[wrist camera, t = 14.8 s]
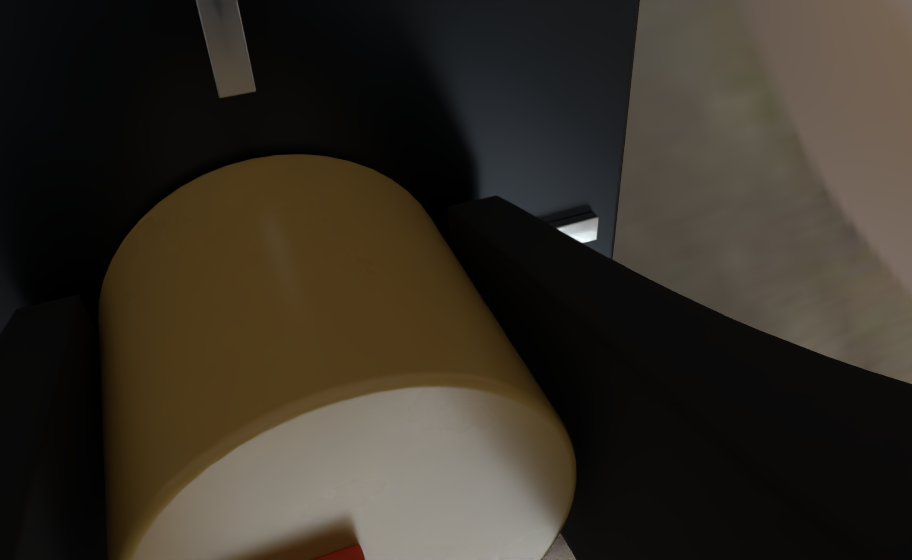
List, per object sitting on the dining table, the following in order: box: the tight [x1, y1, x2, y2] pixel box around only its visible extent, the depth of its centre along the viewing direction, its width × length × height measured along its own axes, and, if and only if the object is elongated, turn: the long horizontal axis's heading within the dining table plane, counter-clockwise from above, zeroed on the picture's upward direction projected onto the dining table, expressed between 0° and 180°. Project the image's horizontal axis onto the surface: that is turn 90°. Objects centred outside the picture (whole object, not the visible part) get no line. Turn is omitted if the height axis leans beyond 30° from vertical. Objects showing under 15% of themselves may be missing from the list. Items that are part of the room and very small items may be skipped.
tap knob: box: [98, 154, 576, 560], centre depth 8 cm, size 4×4×4 cm
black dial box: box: [0, 0, 640, 339], centre depth 9 cm, size 12×9×3 cm
